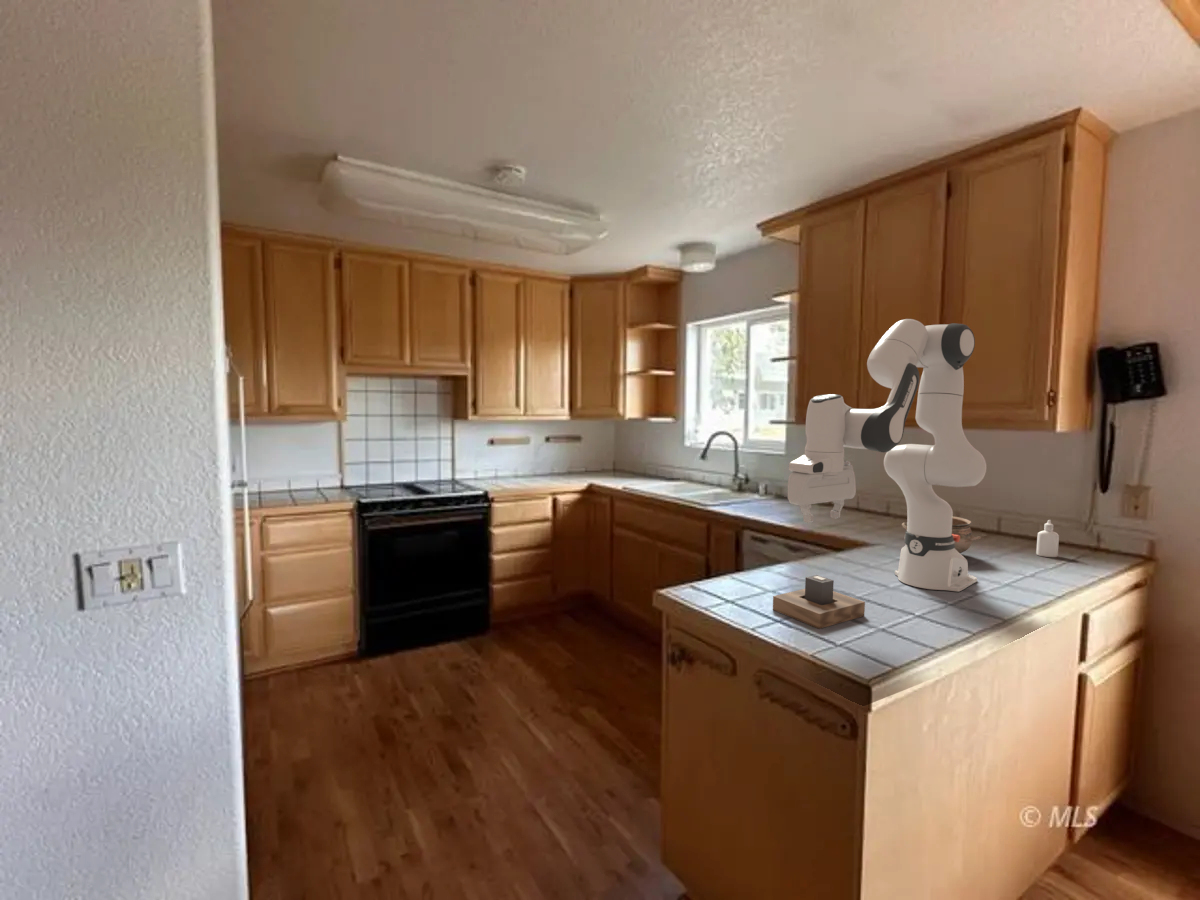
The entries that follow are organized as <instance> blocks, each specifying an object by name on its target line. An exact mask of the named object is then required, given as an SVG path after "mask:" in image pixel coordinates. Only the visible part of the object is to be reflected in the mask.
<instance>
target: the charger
mask: <svg viewBox="0 0 1200 900" xmlns="http://www.w3.org/2000/svg"><path fill="white" fill-rule="evenodd" d="M804 580H805V583H804V584H805V586H804V587H805V588H804V589H805V599H806V600H808V601H811V602H814V603H817V604H819V605H826V604H829V603H833V591H834V580H833V579H830V578H827V577H824V576H821V575H818V574H816V575H811V576H805V579H804Z"/></svg>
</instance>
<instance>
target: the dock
mask: <svg viewBox="0 0 1200 900" xmlns="http://www.w3.org/2000/svg"><path fill="white" fill-rule="evenodd" d="M865 605H866V602H865V601H863V600H861V599H857V598H855V597H851V596H849V595H846V594H842V593H840V592H837V591H834V590H833V603H829V604H826V605H819V604H817V603H814V602H811V601H808V600H806V599H805V588H803V589H798V590H794V591H789V592H785V593H781V594H777V595H773V596H772V610H773V611H774V612H777V613H779V614H782V615H784V616H787V617H789V618H792V619H794V620H796V621H799V622H801V623H804V624H806V625H808V626H811V627H813V628H815V629H819V630H820V629H823V628H827V627H830V626H834V625H838V624H842V623H844V622H849V621H852V620H855V619H859V618H862V617H865V610H866V609H865V607H866V606H865Z"/></svg>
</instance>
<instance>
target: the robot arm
mask: <svg viewBox="0 0 1200 900" xmlns="http://www.w3.org/2000/svg"><path fill="white" fill-rule="evenodd" d="M974 334H975V333H974V332H973V330H972V329H971V327H969V326H968V325H967V324H964V323H953V322H952V323H949V324H945V323H943V324H931V325H924V324H923V323H922V322H921V321H919V320H916V319H913V318H905V319H901V320H898V321H896V322H895V323H894V324H893V325H892V326H890V328H889V329H888V330H886V332H885V333H884V334H883V335H882V336H881V338H879V339H878V342H877V343H876V344H875V346H874V347H873V348H872V350H871V352H870V353H869V356H868V358H867V362H866V367H867V371H868V373H869V376H870V377H871V378H872V379H873V380H874V381H875V382H876V383H877V384H879V385H880V386H882V387H885V388H887V389H891V390H890V392H889V395H888V397H887V400H886V403H885V404H884V405H882V406H880V407H876V408H856V407H855V408H854V407H851V406H849V405H848V404H846V403H845V400H844V397H843V396H842V395H841V394H835V393H832V394H831V393H828V394H820V395H816V396H813V397H812V398H811V399H810V400H809V401H808V405H807V408H806V415H805V416H806V417H805V431H804V432H805V437H806V443H805V447H804V454H802V455H800V456H799V457H797V458H796V459H793V460H792V461H790V462H789V464H788V470H789V471H790V472H791V473H789V476H788V479H787V480H788V481H787V500H788V502H789V503H790V504H791V505H796V506H799V508H800V511H801V513H802V516H803V520H802V521H803V523H807V524H809V523H813V522H814V518H815V516H814V514H812V513H811V510H810V509H812V504H813V505H814V504H823V503H828V502H832V503H833V507H832V509H831V510H830V512H829V514H830V518H832V519H840V518H841V511H842V510H843V507H844V505H845V500H852V499H854V498H855V496H856V493H857V489H856V488H857V484H856V475H855V471H854V466H853V464H852V463H851V462H850V461H848V460H845V448H851V449H857V450H858V449H860V450H868V451H872V452H873V451H874V452H878V453H885V455H884V458H883V468H884V471H885V472H886V474H887V475H888V477H889V478H891V479H892V480H893V481H894V482H895V483H896V484H897V485H898V487H899V489H900V490H901V492H902V494H903V495H904V499H905V503H906V511H907V513H906V514H907V515H906V516H907V517H906V518H907V519H906V521H907V522H906V523H907V530H906V529H905V532H904V537H903V538H904V544H905V545H904V546H902V547H901V549H900V555H899V562H898V567H897V568H898V569H896V570H894V575H895V576H897V579H898V580H899V582H901V583H903V584H906V585H909V586H912V587H915V588H920V589H927V590H936V591H937V590H938V591H951V592H961V591H963V590H965V589H967V588H968V587H970V586H971V585H973V584H975V583H977V582H978V578H977V577H976V576H974V575H972V574H969V563H968V559H966V557H964V556H963V554H962V553H959V552H958V551H957V550H956V549H955V542H959V540H960V536H959V535H954V534H952V518H953V515H954V511H953V509H952V506H951V505H950V504H949V502H947V501H946V500H944V499H943V498H941V497H940V496H938V495H937V493H936V492H935V490H934V489H933V485H934V486H942V487H943V486H944V487H952V488H966V487H975V486H977V485H978V484H980V483H981V482H982V481H983V480H984V478H985V475H986V473H987V462H986V459H985V457H984V455H983V454H982V453H981V452H980V451H979V450H977V448H975V447H974V446H973V445H972V444H971V443H970V441H969V440H968V438H967V436H966V434H965V433H964V429H963V424H962V423H963V420H962V419H963V403H964V402H963V401H964V394H965V393H964V392H965V390H964V389H965V388H964V387H965V385H964V384H965V381H964V380H965V377H964V368H963V367H964V365H965V364H966V363H967V362H968V360H969V359H970V358H971V356H972V355H973V352H974V350H975V346H976V337H975V335H974ZM918 368H923V369H922V374H921V376H920V371H919V369H918ZM917 391H918V392H917ZM916 394H917V400H916V410H915V421H916V424H917V425H918V426H919V428H920V429H922V430H923V431H926V432H927V433H929V434H931V435H932V436H933V438H934V444H933V445H932V444H917V443H906V444H905V443H904V444H900V443H901V441H902V439H903V436H904V433H905V427H906V421H907V418H908V415H909V414H910V409H911V408H912V405H913V402H914V399H915V396H916ZM954 541H955V542H954Z"/></svg>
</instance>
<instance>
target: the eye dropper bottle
mask: <svg viewBox="0 0 1200 900" xmlns="http://www.w3.org/2000/svg"><path fill="white" fill-rule="evenodd" d="M1059 541H1060V535H1059V534H1058V532H1056V531H1054V524H1053V523H1052V520H1051V519H1048V520H1047V522H1046V523H1044V524H1043V530H1041V531H1039V532H1037V538H1036V551H1035V554H1036V555H1037V556H1039V557H1046V558H1057V557H1058V556H1059V543H1060V542H1059Z"/></svg>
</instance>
